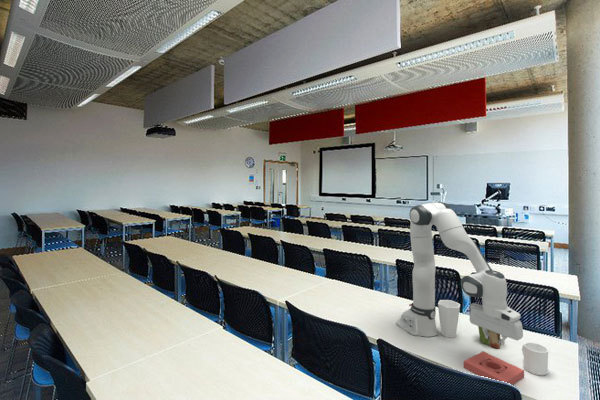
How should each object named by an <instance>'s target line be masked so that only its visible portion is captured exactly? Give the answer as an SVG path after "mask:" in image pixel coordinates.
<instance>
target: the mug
mask: <svg viewBox="0 0 600 400" xmlns="http://www.w3.org/2000/svg"><path fill="white" fill-rule="evenodd" d="M521 353H522V355H523V368H524V370H525V371H527V372H528V373H531V374H533V375H536V376H546V375H547V374H548V370H549V367H548V365H549V349H548V348H547V347H546V346H545V345H543V344H540V343H538V342H537V343H536V342H524V344H522V347H521Z"/></svg>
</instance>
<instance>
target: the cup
mask: <svg viewBox="0 0 600 400" xmlns="http://www.w3.org/2000/svg"><path fill="white" fill-rule="evenodd" d="M437 306H438V307H437V308H438V317H439V328H440V334H441V336H444V337H445V338H449V339H450V338H451V339H455V338H456V336H457V331H458V330H457V329H458V324H459V318H460V310H461V309H460V308H461V304H460V303H458V302H457V301H454V300H450V299H439V301H438V303H437Z"/></svg>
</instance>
